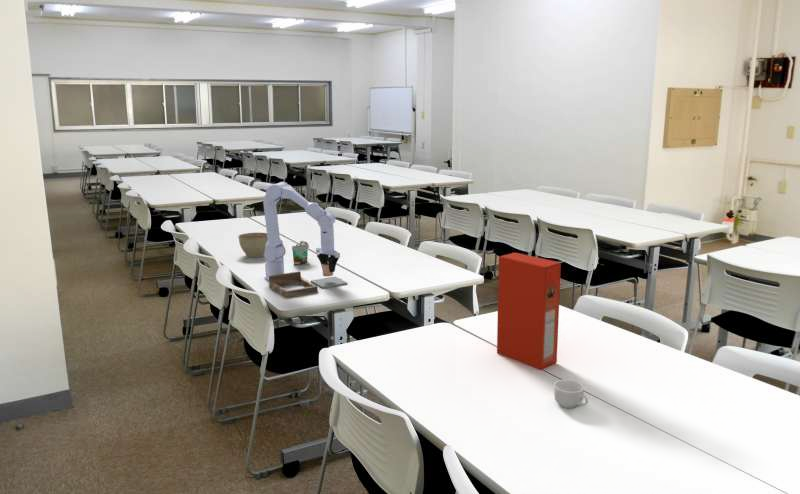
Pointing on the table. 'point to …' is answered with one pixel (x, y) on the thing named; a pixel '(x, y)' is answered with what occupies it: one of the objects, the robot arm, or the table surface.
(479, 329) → the table surface
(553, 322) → the file binder
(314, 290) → the frame
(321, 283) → the potting mat
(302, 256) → the food container
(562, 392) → the teacup
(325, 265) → the clay pot
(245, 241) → the planter bowl
